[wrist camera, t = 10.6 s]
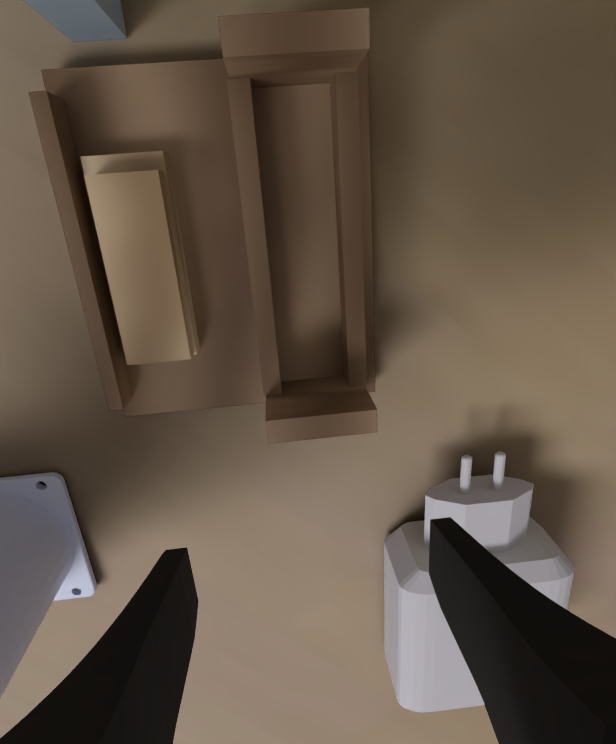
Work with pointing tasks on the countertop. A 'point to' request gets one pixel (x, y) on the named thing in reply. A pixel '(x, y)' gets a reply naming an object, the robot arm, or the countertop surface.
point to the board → (84, 18)
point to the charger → (417, 596)
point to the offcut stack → (143, 254)
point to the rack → (240, 216)
